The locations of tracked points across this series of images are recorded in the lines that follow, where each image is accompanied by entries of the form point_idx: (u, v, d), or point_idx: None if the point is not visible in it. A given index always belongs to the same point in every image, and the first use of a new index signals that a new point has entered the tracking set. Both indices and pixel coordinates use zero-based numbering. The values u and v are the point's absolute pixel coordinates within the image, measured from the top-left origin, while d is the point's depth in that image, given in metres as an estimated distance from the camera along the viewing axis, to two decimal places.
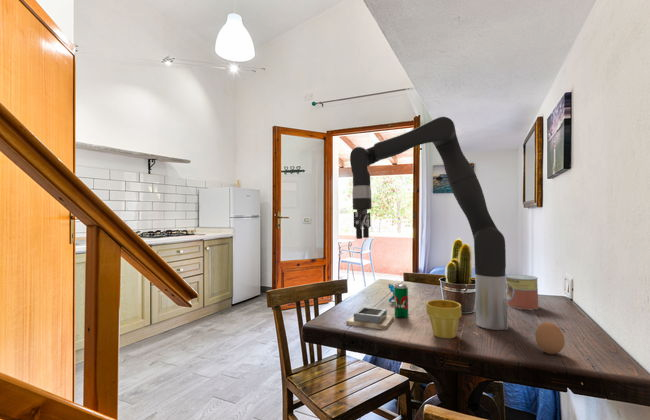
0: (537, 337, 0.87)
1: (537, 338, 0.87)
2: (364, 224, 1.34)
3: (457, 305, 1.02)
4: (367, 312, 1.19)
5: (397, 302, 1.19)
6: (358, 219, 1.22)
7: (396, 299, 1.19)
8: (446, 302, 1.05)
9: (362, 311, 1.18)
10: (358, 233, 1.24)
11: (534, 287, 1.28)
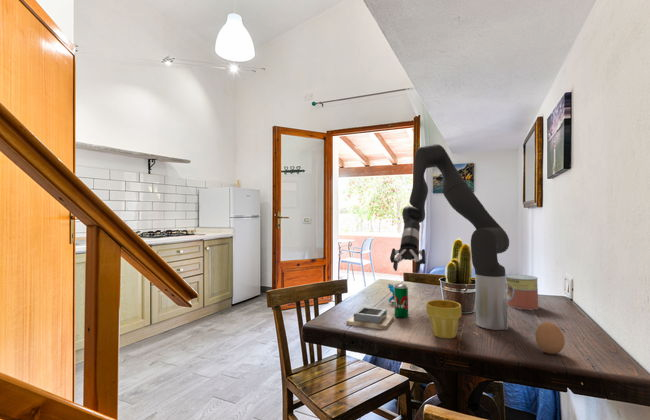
0: (537, 337, 0.87)
1: (537, 338, 0.87)
2: None
3: (457, 305, 1.02)
4: (367, 312, 1.19)
5: (397, 302, 1.19)
6: None
7: (396, 299, 1.19)
8: (446, 302, 1.05)
9: (362, 311, 1.18)
10: None
11: (534, 287, 1.28)
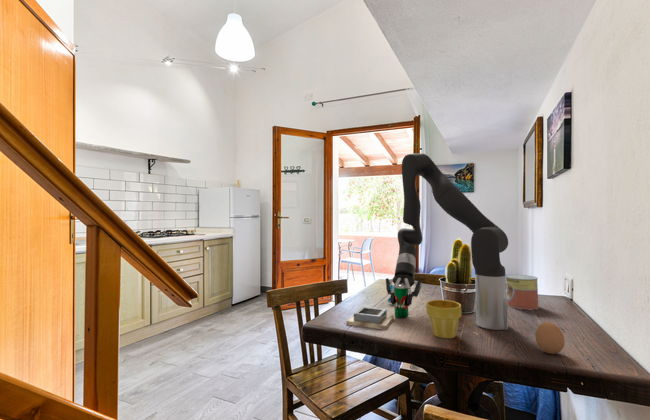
0: (537, 337, 0.87)
1: (537, 338, 0.87)
2: None
3: (457, 305, 1.02)
4: (367, 312, 1.19)
5: (397, 302, 1.19)
6: (386, 285, 1.26)
7: (396, 299, 1.19)
8: (446, 302, 1.05)
9: (362, 311, 1.18)
10: None
11: (534, 287, 1.28)
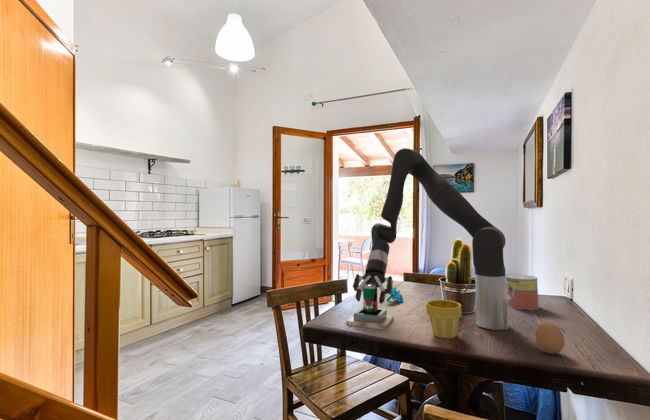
0: (537, 337, 0.87)
1: (537, 338, 0.87)
2: None
3: (457, 305, 1.02)
4: None
5: (366, 303, 1.14)
6: None
7: (365, 300, 1.14)
8: (446, 302, 1.05)
9: (362, 311, 1.18)
10: None
11: (534, 287, 1.28)
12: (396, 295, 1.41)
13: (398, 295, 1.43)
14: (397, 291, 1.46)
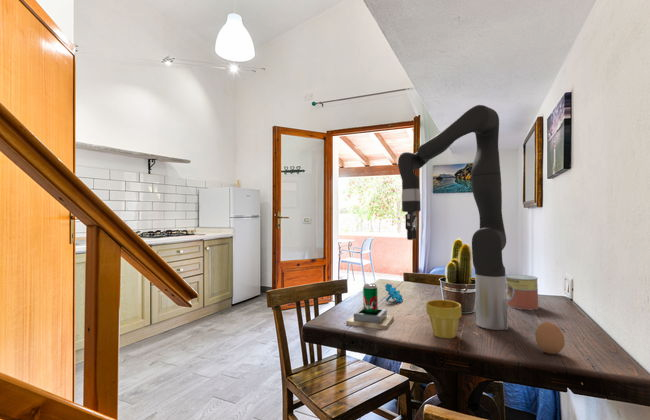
0: (537, 337, 0.87)
1: (537, 338, 0.87)
2: None
3: (457, 305, 1.02)
4: None
5: (366, 303, 1.14)
6: (410, 221, 1.28)
7: (365, 300, 1.14)
8: (446, 302, 1.05)
9: (362, 311, 1.18)
10: (409, 234, 1.29)
11: (534, 287, 1.28)
12: (395, 295, 1.42)
13: (397, 295, 1.43)
14: (396, 291, 1.46)
